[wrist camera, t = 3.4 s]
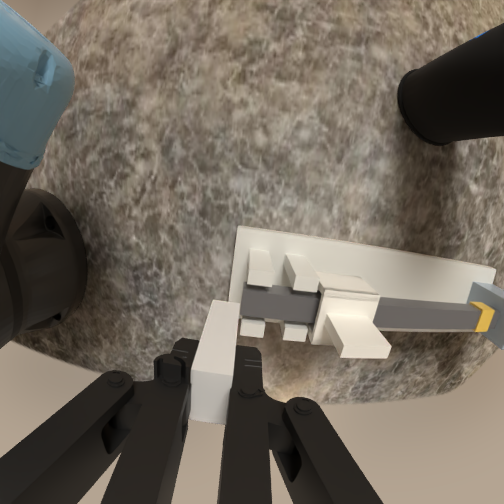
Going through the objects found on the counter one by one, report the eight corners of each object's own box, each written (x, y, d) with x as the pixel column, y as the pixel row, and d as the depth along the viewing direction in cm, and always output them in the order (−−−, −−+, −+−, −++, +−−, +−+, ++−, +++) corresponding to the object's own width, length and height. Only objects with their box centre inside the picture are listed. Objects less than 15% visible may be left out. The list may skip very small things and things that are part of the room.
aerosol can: (451, 160, 23) (619, 167, 4) (388, 120, 23) (570, 63, 3) (464, 97, 21) (606, 66, 2) (405, 55, 21) (541, -29, 1)
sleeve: (302, 318, 23) (323, 380, 15) (312, 270, 22) (343, 317, 14) (348, 322, 23) (384, 380, 15) (360, 276, 22) (407, 321, 14)
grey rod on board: (227, 311, 27) (217, 367, 18) (238, 225, 25) (231, 249, 16) (470, 327, 28) (513, 361, 19) (490, 266, 26) (540, 290, 17)
